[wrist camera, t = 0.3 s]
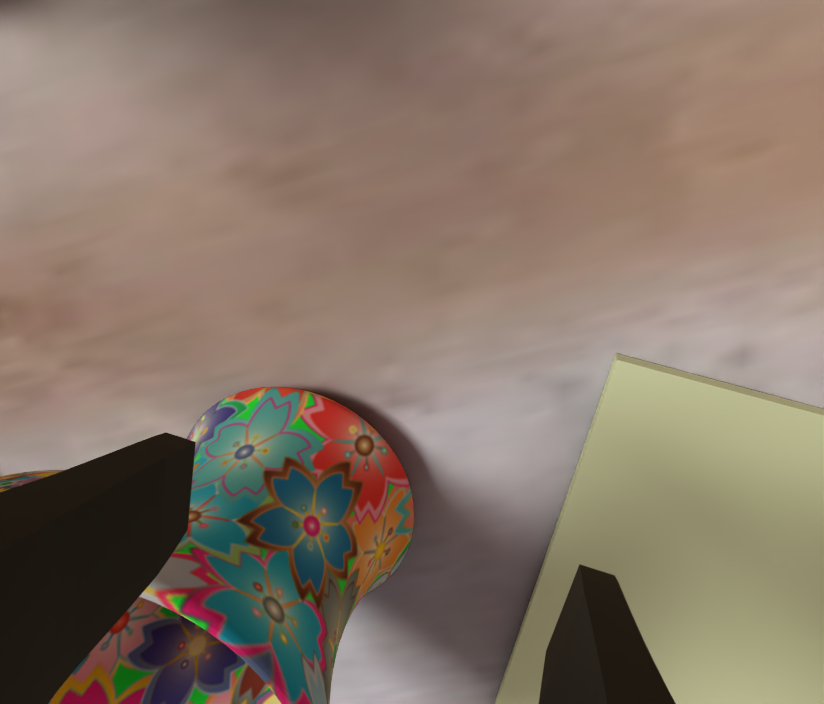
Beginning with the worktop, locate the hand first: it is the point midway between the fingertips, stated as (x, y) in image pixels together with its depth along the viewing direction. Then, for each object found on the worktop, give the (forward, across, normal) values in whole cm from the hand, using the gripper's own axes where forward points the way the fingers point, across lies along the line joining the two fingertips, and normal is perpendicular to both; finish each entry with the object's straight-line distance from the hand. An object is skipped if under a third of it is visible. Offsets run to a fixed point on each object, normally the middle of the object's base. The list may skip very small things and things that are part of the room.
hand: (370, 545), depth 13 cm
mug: (+10, +6, +6) cm, 13 cm away
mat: (+10, -11, +6) cm, 16 cm away
